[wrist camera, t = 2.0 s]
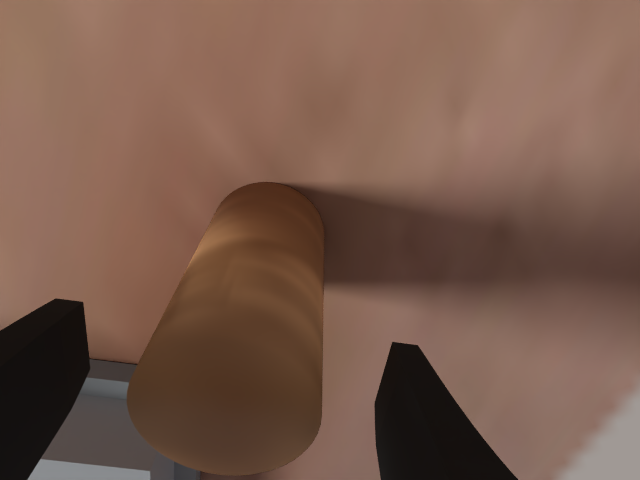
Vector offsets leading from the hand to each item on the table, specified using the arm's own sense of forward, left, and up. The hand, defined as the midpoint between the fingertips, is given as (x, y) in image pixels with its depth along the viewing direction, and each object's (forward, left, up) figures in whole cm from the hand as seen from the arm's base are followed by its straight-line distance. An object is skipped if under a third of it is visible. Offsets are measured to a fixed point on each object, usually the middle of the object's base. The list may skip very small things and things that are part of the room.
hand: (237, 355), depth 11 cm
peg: (0, 0, -6) cm, 6 cm away
